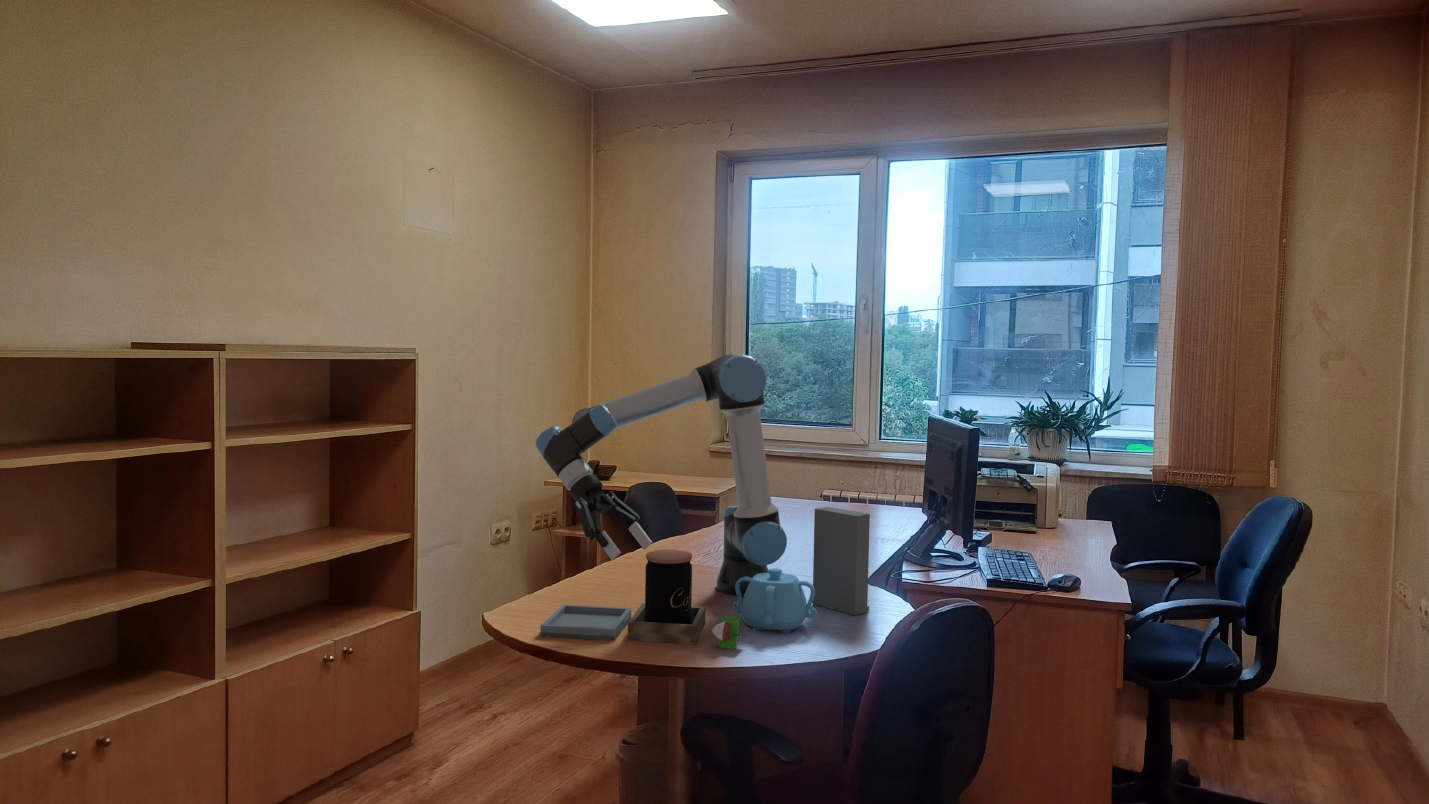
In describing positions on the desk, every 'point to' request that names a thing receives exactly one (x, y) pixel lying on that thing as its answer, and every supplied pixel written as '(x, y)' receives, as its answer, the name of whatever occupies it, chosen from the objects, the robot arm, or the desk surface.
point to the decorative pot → (774, 601)
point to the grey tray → (586, 622)
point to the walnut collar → (666, 628)
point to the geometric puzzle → (727, 632)
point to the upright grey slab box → (841, 559)
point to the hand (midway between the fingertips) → (633, 551)
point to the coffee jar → (668, 587)
